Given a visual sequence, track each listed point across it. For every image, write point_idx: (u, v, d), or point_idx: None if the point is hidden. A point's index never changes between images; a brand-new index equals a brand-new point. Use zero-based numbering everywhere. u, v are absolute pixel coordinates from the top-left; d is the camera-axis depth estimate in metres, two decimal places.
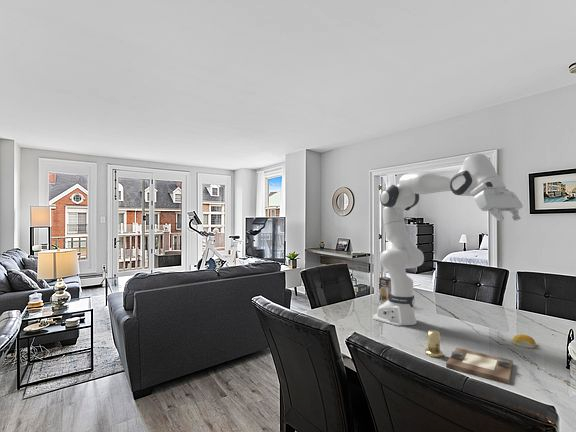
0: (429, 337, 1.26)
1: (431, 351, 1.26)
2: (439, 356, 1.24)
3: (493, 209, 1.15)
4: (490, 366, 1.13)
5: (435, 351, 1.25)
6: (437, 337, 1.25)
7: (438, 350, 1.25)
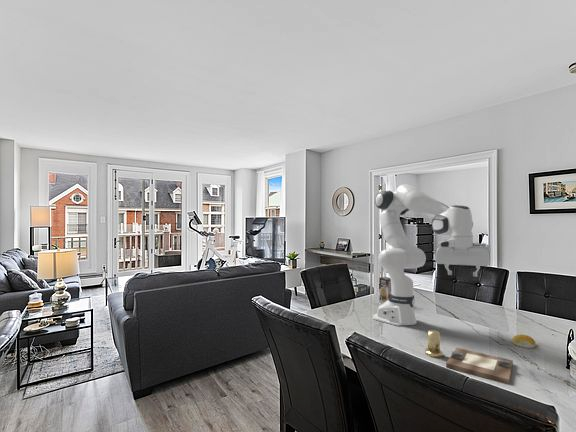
0: (429, 337, 1.26)
1: (431, 351, 1.26)
2: (439, 356, 1.24)
3: None
4: (490, 366, 1.13)
5: (435, 351, 1.25)
6: (437, 337, 1.25)
7: (438, 350, 1.25)
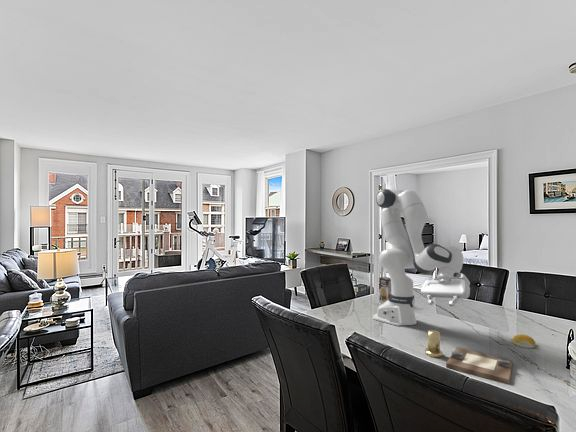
0: (429, 337, 1.26)
1: (431, 351, 1.26)
2: (439, 356, 1.24)
3: (458, 298, 1.32)
4: (490, 366, 1.13)
5: (435, 351, 1.25)
6: (437, 337, 1.25)
7: (438, 350, 1.25)
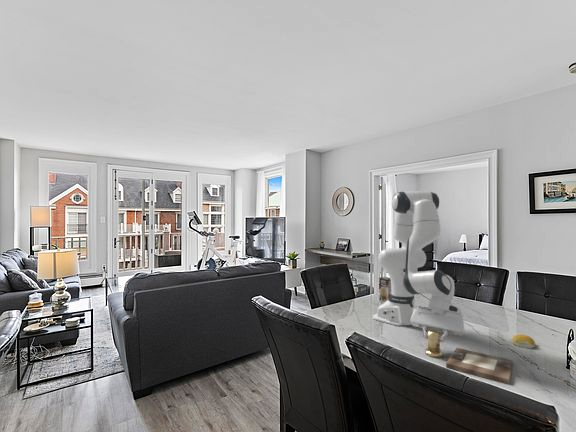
0: (429, 337, 1.26)
1: (431, 351, 1.26)
2: (439, 356, 1.24)
3: None
4: (490, 366, 1.13)
5: (435, 351, 1.25)
6: (437, 337, 1.25)
7: (438, 350, 1.25)
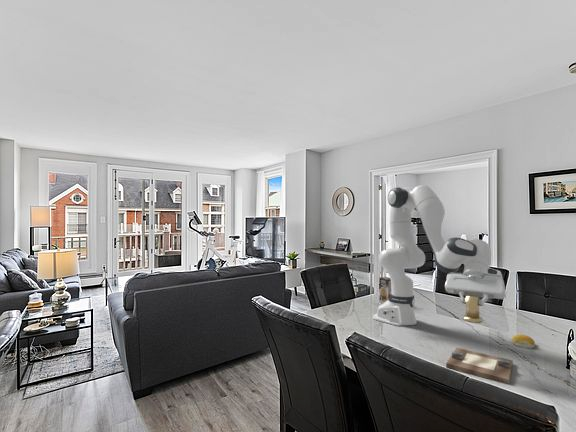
0: (467, 301, 1.18)
1: (470, 316, 1.17)
2: (479, 321, 1.15)
3: (487, 297, 1.17)
4: (490, 366, 1.13)
5: (474, 316, 1.16)
6: (476, 301, 1.16)
7: (478, 315, 1.16)
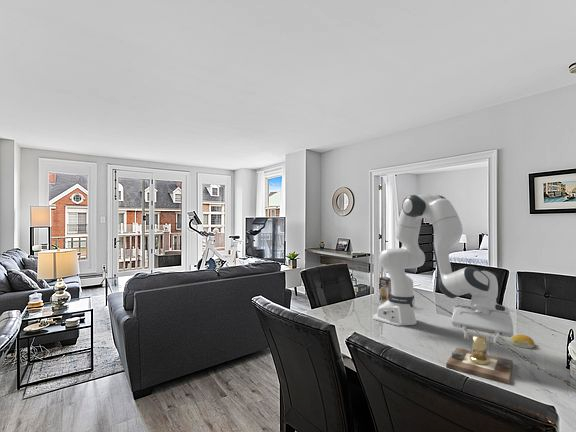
0: (475, 342, 1.16)
1: (477, 358, 1.16)
2: (486, 363, 1.14)
3: (499, 335, 1.15)
4: (490, 366, 1.13)
5: (482, 358, 1.15)
6: (484, 342, 1.15)
7: (485, 357, 1.15)
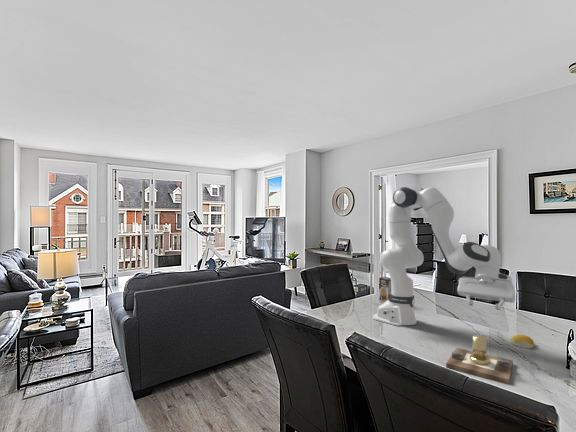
0: (475, 343, 1.16)
1: (477, 358, 1.16)
2: (487, 363, 1.14)
3: (504, 301, 1.24)
4: (490, 366, 1.13)
5: (482, 358, 1.15)
6: (484, 342, 1.15)
7: (485, 356, 1.15)
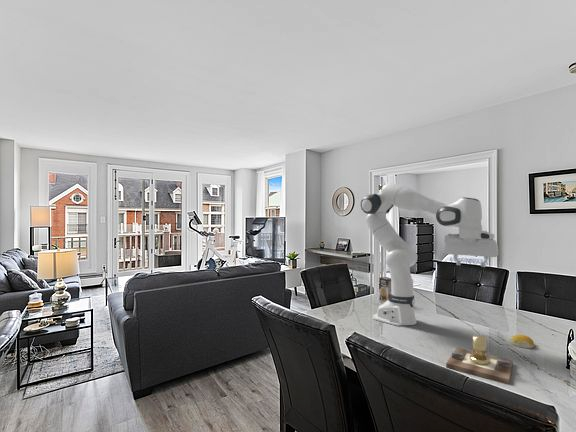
0: (475, 343, 1.16)
1: (478, 358, 1.15)
2: (487, 363, 1.14)
3: None
4: (490, 366, 1.13)
5: (482, 358, 1.15)
6: (484, 342, 1.15)
7: (485, 356, 1.15)
